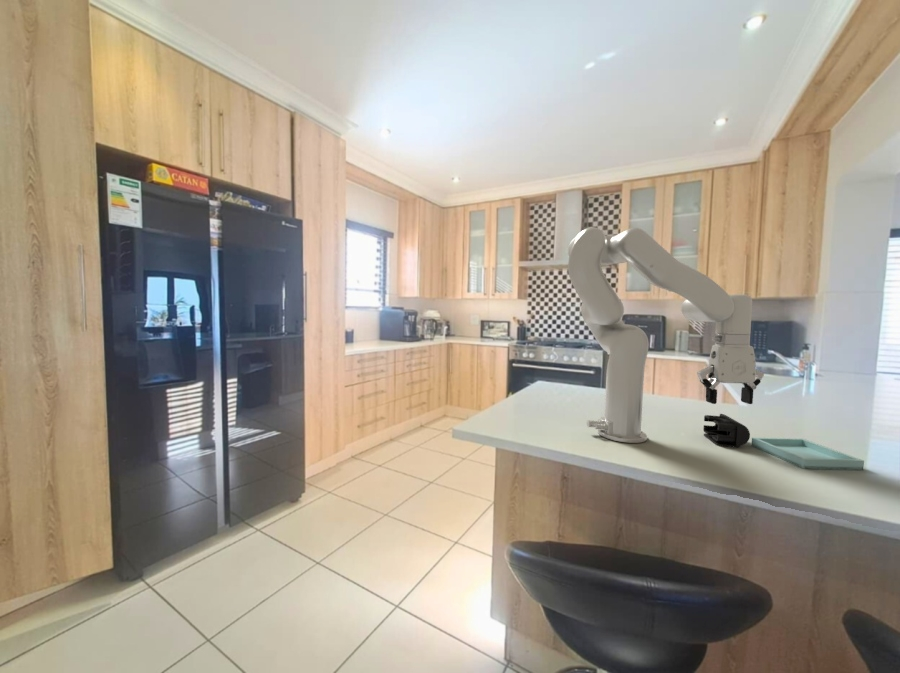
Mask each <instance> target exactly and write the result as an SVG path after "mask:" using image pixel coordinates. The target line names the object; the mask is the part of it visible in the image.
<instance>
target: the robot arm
mask: <svg viewBox="0 0 900 673" xmlns="http://www.w3.org/2000/svg"><path fill="white" fill-rule="evenodd" d="M567 246H568V247H567V254H568V263H567V264H568V265H567V266H568V267H567V269H568V270H567V272H568V276H569V279H570V282H571V284H572V287H573V288H574V290H575V292H576V294H577V295H578V297H579V299H580V300H581V302H582V303H581V306H580V313H581V316H582V317H581V318H583V321H584V323H585V325H586V326H587V327H588V329H589V330H590V332H591V334H592V335H593V337H594V338H595V341H597V343H598V344H599V346H600V347H601V349H602V350H603V351H604V352H606V353H607V354H609V356H608V360H607V365H606V372H605V374H606V376H605V395H604V396H605V397H604V400H605V401H604V416H601V417H600V419H597V420H592V419H591V420H589V419H588V420H586V426H587V428H594V429H595V430H597V433H598V435H600V436H601V437H603V438H605V439H608V440H611V441H615V442H621V443H625V444H626V443H628V444H638V443H644V442H646V441H647V440H648V435H647V433H645V431H642V421H643V420H642V419H643V417H642V416H643V399H644V379H645V378H644V377H645V367H646V362H647V357H648V352H649V344H650V342H649V338H648V335H647V333H646V332H645V331H644V330H643V329H642V328H640V327H639V326H637V325H634V324H627V323H626V324H625V321H623V319H622V318H623V317H624V313H625V307H624V305H623V304H624V303H623V302H622V300H621V299H620V298H619V296H618V294H617V293H616V292H615V290H614V288H613V286H612V285H611V283H610V282H609V281H608V278H607V277H606V275H605V273H604V271H603V269H602V265H613V264H614V265H616V264H624V263H627V264H629V266H631V267H632V268H633V269H634V270H635V271H636V272H637V273H638V274H640V276H642V277H643V278H644V279H645V280H646V281H648V283H650V284H651V285H653V286H655V287H657V288H660V289H663V290H667V291H670V292H673V293H675V294H677V295H679V296H681V297H682V298H684V301H683V302H682V303H681V308H680V311H681V313H682V315H683V316H684V317H685V318H686V319H687V320H689V321H693V322H700V323H701V322H702V323H705V322H706V323H710V322H711V323H715V334H714V336H711V341H712V342H714V344H713V345H712V346H711V350H710V354H709V358H708V365H707V367H705V368H703V369H701V370H699V371H697V372H696V374H697V377H698V378H699V382H700V383H701V384H702V385H703V387H704V388H705V402H707V403H710V404H712V405H716V404H717V401H718V399H717V397H718V389H717V387H718V385H719V384H720V383H723V384H742V387H741V391H740V392H741V393H740V394H741V396H740V401H741V402H742V403H745V404H747V405H753V404H754V403H753V401H754V390H756V389H757V386H759V385H760V383H761V380H762V379H763V378H764V375H765V372H762V371H761V370H760V369H757V368H756V366H757V365H756V363H757V361H756V354H755V349H754V346H752V345H751V328H752V314H753V313H752V312H753V298H752V297H751V296H750V295H748V294H728V292H727V291H726V290H725V289H724V288H722V287H721V286H720V285H719V284H718V283H717V282H716V281H715V280H714V279H712V278H710V277H709V276H707V275H706V274H704V273H702V272H701V271H698V270H696V269H695V268H692V267H691V266H689V265H687V264H685V263H683V262H681V261H679V260H678V259H677V258H676V257H674V256H673V255H672V254H671V253H669V251H667V249H665V248H664V247H663V246H662V245H661V244H660V243H659V242H658V241H656V240H655V239H654V238H653V237H652V236H650V235H649V234H648V233H647V232H646V231H644V230H643V229H641V228H639V227H631V228H630V227H629V228H627V229H626V230H624V231H621V232H620V233H618V234H614V235H611V234H610V235H606V234H605V233H604V231H603V230H602V229H601V228H598V227H593V226H592V227H590V226H589V227H587V228H585V229H582V230H581V231H580V232H579V233H578V234H576V236H575V237H574V238H573V239H572V240H570V243H569V244H568V245H567ZM707 377H708V379H707Z"/></svg>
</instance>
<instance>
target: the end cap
mask: <svg viewBox="0 0 900 673" xmlns="http://www.w3.org/2000/svg"><path fill="white" fill-rule="evenodd" d="M703 421H704V422H708V423H709V422H710V423H711V422H712V423H714V425H706V424H703V428H702V429H703V436H704V437H705V438H706V439H708V440H709V441H710V442H711V443H713V444H714V445H715V446H716V447H724V448H733V449H735V448H739V447H741V446H743V445H746V444H747V443H748V442H749V440H750V437H751V433H750V430H749V428H748V427H747V426H746V425H745V424H743V423H741V422H739V421H738V420H735V419H734V418H732V417H730V416H728V415H726V414H723V413H719V415H708V414H705V415H704V417H703Z"/></svg>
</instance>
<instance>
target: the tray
mask: <svg viewBox="0 0 900 673" xmlns="http://www.w3.org/2000/svg"><path fill="white" fill-rule="evenodd" d="M751 446H752V447H754V448H756V449H758V450H760V451H762V452H765V453H768V454H769V455H772V456H774V457H777V458H778V459H780V460H783V461H785V462H788V463H789V464H792V465H794V466H796V467H799V468H801V469H804V470H840V471H843V470H846V471H849V470H851V471H864V467H865V460H863V459H861V458H858V457H855V456H852V455H849V454H847V453H844V452H841V451H838V450H835V449H833V448H831V447H830V448H829V447H827V446H824V445H822V444H819V443H816V442H813V441H810V440H807V439H806V438H794V437H793V438H791V437H788V438H786V437H751Z"/></svg>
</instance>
